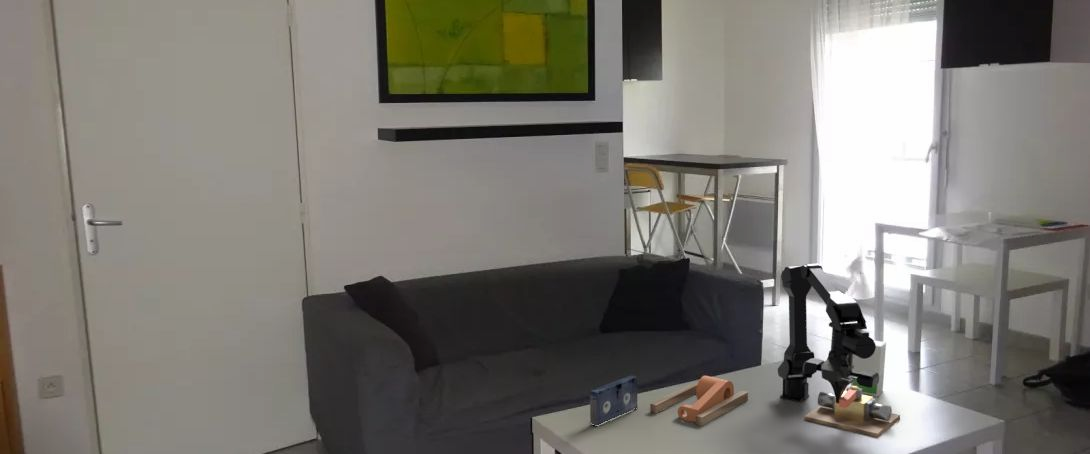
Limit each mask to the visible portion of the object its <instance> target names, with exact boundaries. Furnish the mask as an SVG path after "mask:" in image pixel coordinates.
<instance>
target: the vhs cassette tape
mask: <svg viewBox="0 0 1090 454" xmlns="http://www.w3.org/2000/svg"><path fill="white" fill-rule="evenodd" d="M589 399H590V400H589V409H590V411H589V414H590V416H589V418H590V421H589V422H590V424H591V423H592V424H594V425H599V424H601V423H603V422H605V421H608V420H610V419H612V418H615V417H617V416H619V415H622V414H624V413H627V412H629V411H631V410H633V409H634V408H635V409H636V408H637V409H638V376H635V375H632V374H631V375H629V376H626V377H623V378H620V379H618V380H615V381H613V382H610V383H607V384H604V385H602V386H601V387H597V388H594V389H591V390H589Z"/></svg>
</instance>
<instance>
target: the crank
mask: <svg viewBox="0 0 1090 454" xmlns="http://www.w3.org/2000/svg"><path fill="white" fill-rule="evenodd" d="M698 381H699V382H698V385H697V389H696V394H695V395H696V400H697V401H696V402H694V404H693V405H691V404H682V405H681V406H679V407H678V409H677V415H678V417H679V418H680V419H681V420H685V421H689V422H693V423H696V415H698V414H700V413H702V412H703V411H705V410H707V409H709V408H711V407H713V406H715V405H716V404H718V403H720V402H722V401H724V400H726V399H727V398H729V397H731V396H733V395H735V387H734V384H733V382H732V381H731V380H727V379H722V378H718V377H714V376H709V375H702V376H701V378H699V380H698Z"/></svg>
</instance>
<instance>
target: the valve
mask: <svg viewBox="0 0 1090 454" xmlns="http://www.w3.org/2000/svg"><path fill="white" fill-rule="evenodd" d="M846 392H847V390H845V391H844V393H843V395H844V394H845V393H846ZM843 395H842V396H843ZM842 396H841V397H842ZM817 405H818V407H819V406H823V407H828V408H832V409H833V410H832V413H834V415H837V416H841V417H846V418H850V419H854V420H859V421H865V420H867V421H869V420H870V419H872V418H877V419H881V420H885V421H889V420H890V418H891V413H893V412H892V410H893V409H892V406H890V405H886V404H882V403H881V404H880V403H877V402H876V398H874V396H872V395H867V394H862V398H859V399H855V400H854V401H853V402H852V403H851V404H850V405H849V406H848V407H847V408H843V407H839V404H838V403H836V397H835V394H834V393H830V392H825V391H820V392H819V394H818V396H817Z"/></svg>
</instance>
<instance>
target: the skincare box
mask: <svg viewBox="0 0 1090 454" xmlns="http://www.w3.org/2000/svg"><path fill="white" fill-rule="evenodd" d="M873 340H874V342H875V345H876V349H875V352H874V353H873V355H872V356H871V357H869V358H866V359H863V358H860V357H858V356H856V355H853V364H852V365H854V369H852V371H854V372H858V373H860V372H862V371H863V370H868V371H873V372H877V373H878V375H879V383H878V384H876V385H875V386H874V387H872V388H869V387H865V386H861V385H859V384H858V383H857V380H856V379H855V381H853V382H852V383H851V384H850V386H857V387H859V388H861V389H862V395H867V396H872V397H876V398H877V397H879V396H880V395H881V393H882V392H883V389H884V379H885V378H884V375H885V363H886V351H887V350H886V349H887V341H880V340H877V339H876V340H875V339H873Z"/></svg>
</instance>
